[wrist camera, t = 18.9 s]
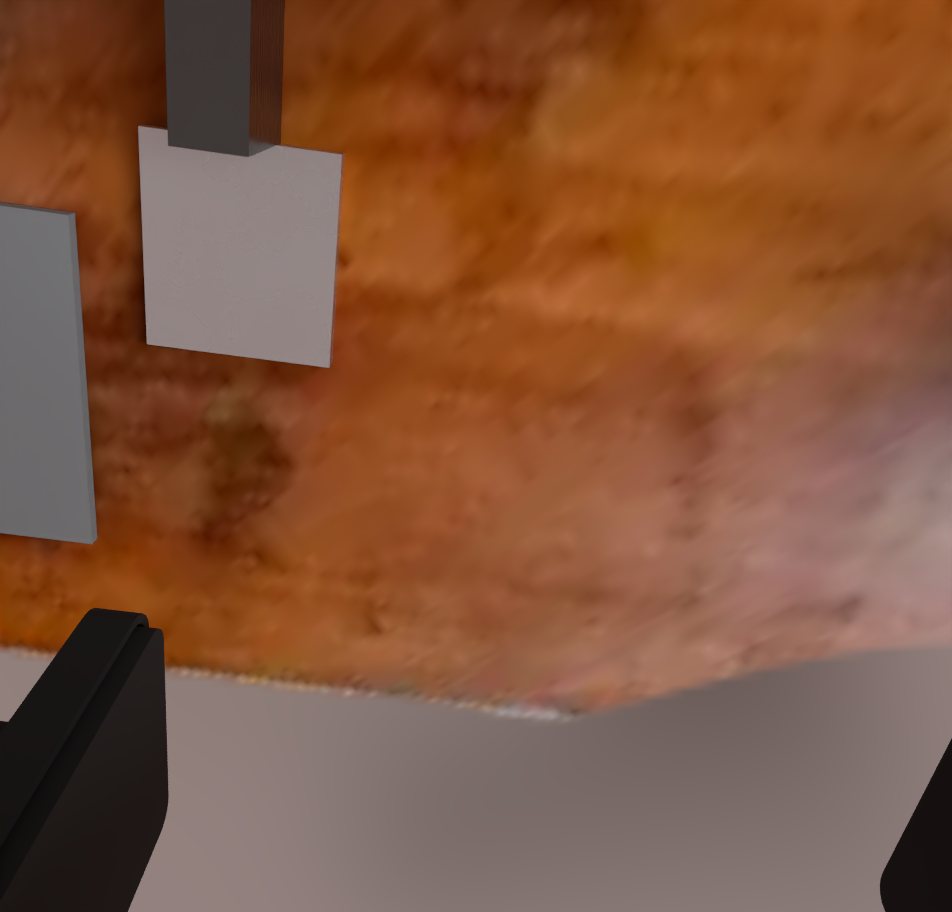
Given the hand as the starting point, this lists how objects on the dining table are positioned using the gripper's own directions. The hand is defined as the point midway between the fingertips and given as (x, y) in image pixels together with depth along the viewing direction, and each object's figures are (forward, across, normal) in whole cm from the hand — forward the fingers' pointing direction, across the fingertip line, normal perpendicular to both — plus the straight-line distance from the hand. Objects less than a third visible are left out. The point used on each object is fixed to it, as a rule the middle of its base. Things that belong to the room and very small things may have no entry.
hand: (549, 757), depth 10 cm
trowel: (+28, +11, -3) cm, 31 cm away
